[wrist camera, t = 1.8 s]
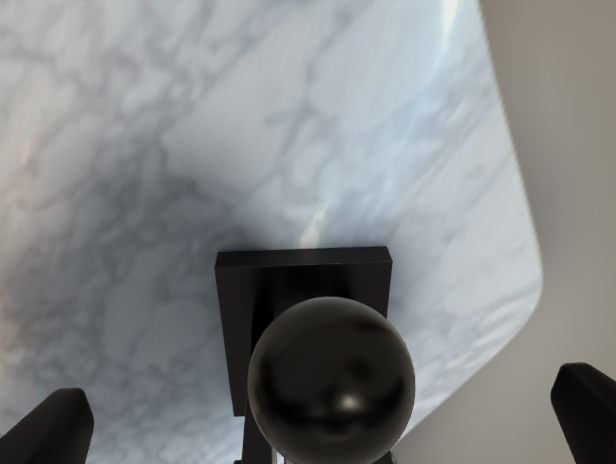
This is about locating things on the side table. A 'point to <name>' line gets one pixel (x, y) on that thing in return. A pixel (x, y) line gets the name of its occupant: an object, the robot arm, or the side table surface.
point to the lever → (331, 383)
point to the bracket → (279, 297)
